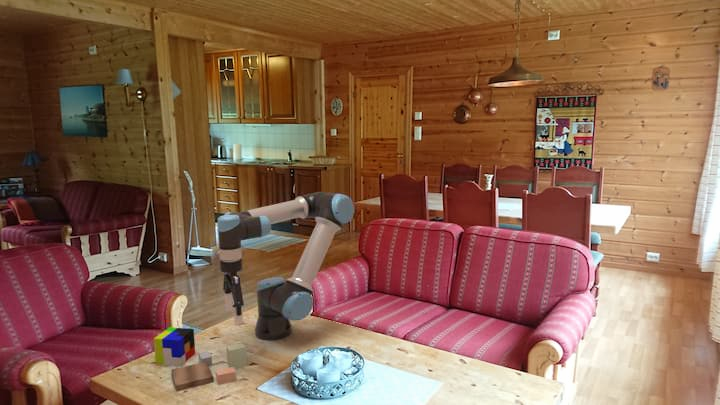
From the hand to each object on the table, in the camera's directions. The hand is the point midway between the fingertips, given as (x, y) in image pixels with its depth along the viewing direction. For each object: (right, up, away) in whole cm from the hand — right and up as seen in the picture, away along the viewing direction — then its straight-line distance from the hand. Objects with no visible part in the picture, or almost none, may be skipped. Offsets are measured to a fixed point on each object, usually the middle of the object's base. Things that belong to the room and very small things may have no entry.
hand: (234, 317), depth 172 cm
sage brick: (0, -18, +3) cm, 18 cm away
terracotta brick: (-1, -20, -8) cm, 21 cm away
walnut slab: (-13, -20, -6) cm, 24 cm away
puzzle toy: (-24, -18, +8) cm, 31 cm away
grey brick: (-12, -18, +5) cm, 22 cm away
